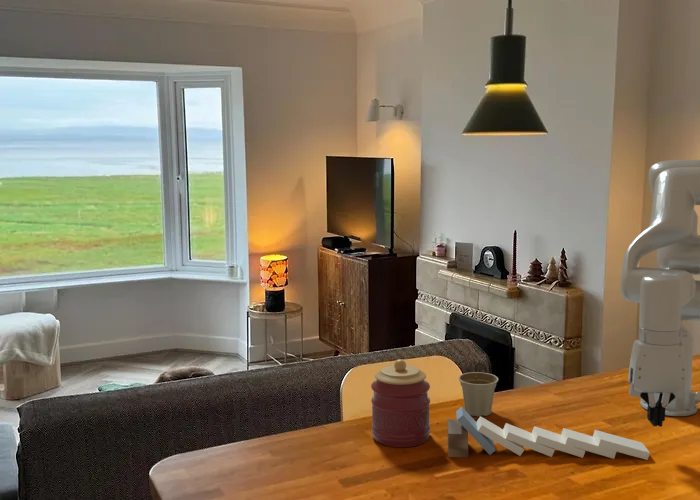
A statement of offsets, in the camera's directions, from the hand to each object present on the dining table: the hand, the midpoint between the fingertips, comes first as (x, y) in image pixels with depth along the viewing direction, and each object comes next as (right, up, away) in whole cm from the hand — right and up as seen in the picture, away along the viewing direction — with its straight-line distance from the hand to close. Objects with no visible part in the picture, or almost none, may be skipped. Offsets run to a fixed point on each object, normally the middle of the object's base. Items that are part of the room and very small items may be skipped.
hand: (655, 423), depth 141 cm
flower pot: (-31, -4, +27) cm, 41 cm away
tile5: (-27, -6, +4) cm, 28 cm away
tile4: (-20, -6, +3) cm, 22 cm away
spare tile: (-33, -6, +5) cm, 33 cm away
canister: (-51, -6, +13) cm, 53 cm away
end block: (-40, -7, +5) cm, 41 cm away
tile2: (-8, -6, +2) cm, 10 cm away
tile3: (-14, -6, +2) cm, 16 cm away
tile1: (-2, -6, +1) cm, 6 cm away
